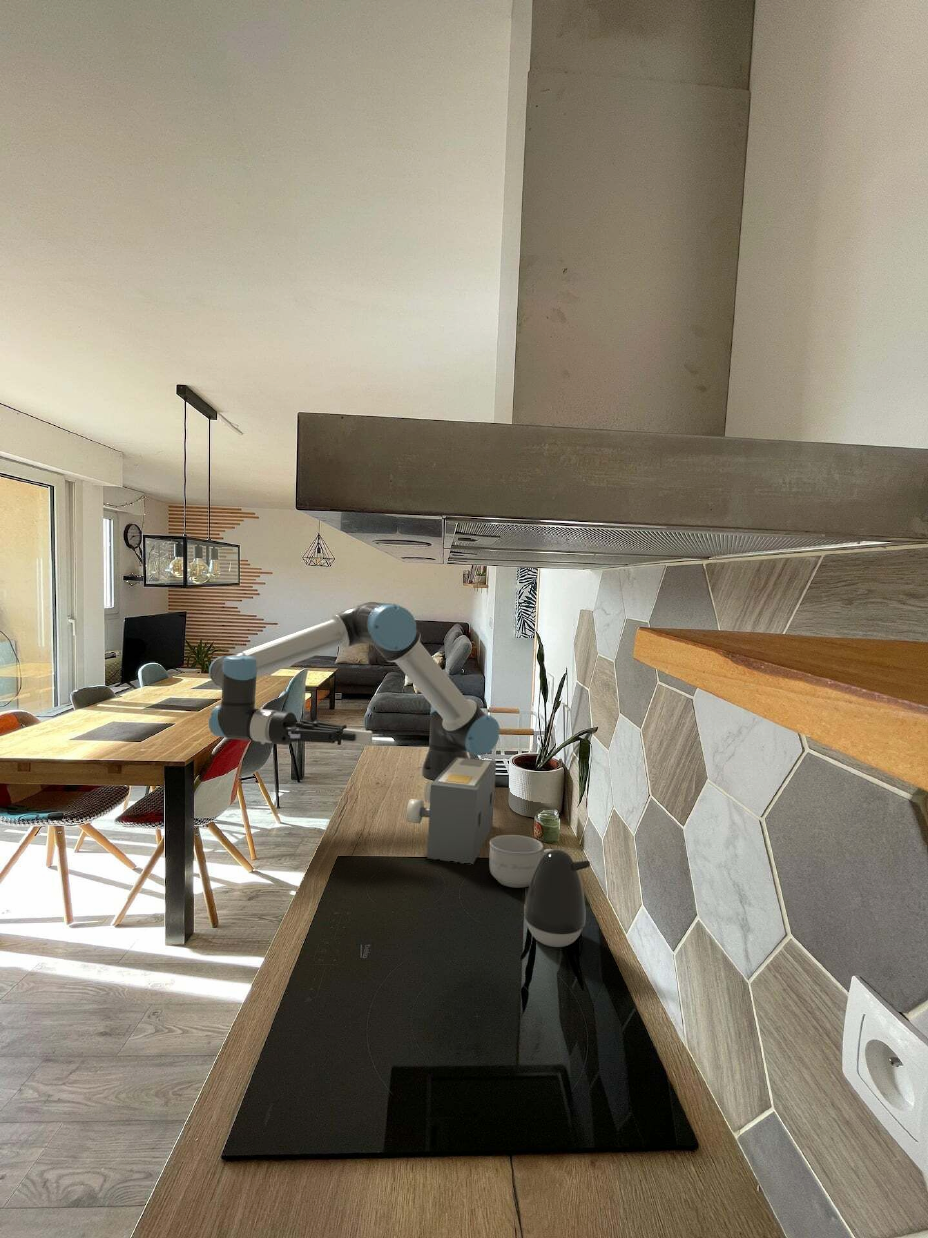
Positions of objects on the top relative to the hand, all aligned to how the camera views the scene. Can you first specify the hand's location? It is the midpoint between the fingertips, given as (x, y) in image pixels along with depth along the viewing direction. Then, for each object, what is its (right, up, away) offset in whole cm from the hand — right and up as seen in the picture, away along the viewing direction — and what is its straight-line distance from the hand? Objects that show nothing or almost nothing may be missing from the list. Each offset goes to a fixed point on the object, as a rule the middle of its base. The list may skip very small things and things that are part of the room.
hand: (370, 738), depth 146 cm
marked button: (+12, -19, -2) cm, 22 cm away
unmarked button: (+15, -18, +12) cm, 27 cm away
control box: (+20, -24, +4) cm, 32 cm away
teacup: (+32, -26, -16) cm, 45 cm away
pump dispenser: (+36, -27, -36) cm, 58 cm away
